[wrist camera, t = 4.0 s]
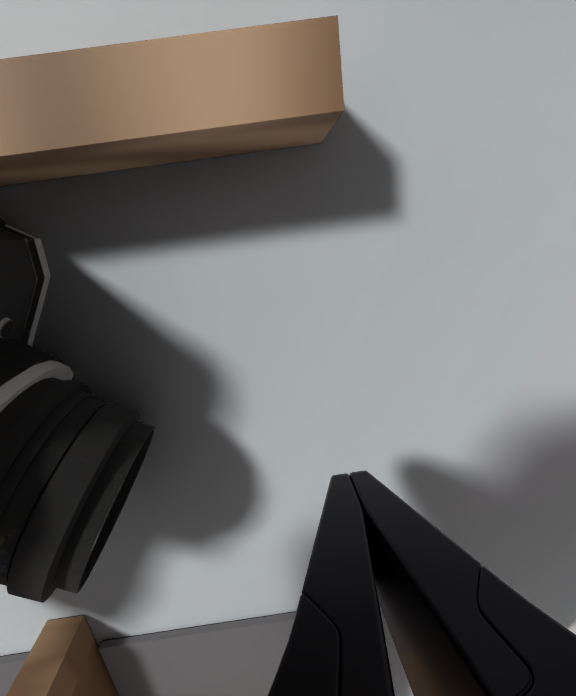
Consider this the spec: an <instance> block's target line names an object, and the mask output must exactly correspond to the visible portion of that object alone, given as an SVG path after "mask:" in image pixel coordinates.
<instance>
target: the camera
mask: <svg viewBox="0 0 576 696" xmlns="http://www.w3.org/2000/svg"><path fill="white" fill-rule="evenodd" d="M50 277H51V275H50V271H49V267H48V264H47V260H46V257H45V253H44V249H43V246H42V242H41V239H39V238H37V237H35V236H32V235H30V234H28V233H25V232H23V231H20V230H18V229H16V228H13V227H11V226H9V225H6V220H4V219H1V218H0V584H2V585H6V586H7V591H8V593H9V594H11V595H15V596H19V597H23V598H27V599H31V600H35V601H39V602H44V601H46V600H47V599H48V598H49V597H50V596H51V594H52V593H53V592H54V591H55V589H56V588H59V589H62V590H66V591H70V592H74V593H78V592H79V591H80V590H81V588H82V587H83V585H84V583H85V582H86V580H87V578H88V576H89V575H90V573H91V571H92V569H93V567H94V565H95V563H96V561H97V559H98V557H99V555H100V554H101V552H102V550H103V548H104V545H105V543H106V541H107V539H108V537H109V535H110V533H111V531H112V529H113V527H114V525H115V523H116V521H117V518H118V516H119V514H120V512H121V510H122V508H123V506H124V503H125V501H126V499H127V497H128V495H129V492H130V490H131V488H132V486H133V483H134V481H135V479H136V476H137V474H138V472H139V469H140V467H141V465H142V462H143V460H144V457H145V455H146V452H147V450H148V447H149V445H150V442H151V439H152V436H153V433H154V427H152V426H149V425H146V424H144V423H141V422H138V419H139V410H138V409H136V408H133V407H130V406H127V405H124V404H122V403H119V402H116V401H113V400H112V401H110V402H108V403H105V402H102V401H99V400H98V399H97V398H96V396H95V395H92V394H91V390H90V389H89V387H88V386H86V385H83V384H81V383H78V382H75V381H72V377H73V372H72V371H71V369H70V367H68V366H66V365H64V364H63V362H62V361H61V360H59V359H57V358H55V357H53V356H51V355H49V354H47V353H45V352H43V351H41V350H39V349H37V348H34V347H32V344H33V341H34V337H35V333H36V329H37V326H38V322H39V318H40V315H41V311H42V307H43V303H44V300H45V296H46V292H47V289H48V285H49V281H50Z"/></svg>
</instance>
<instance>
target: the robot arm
mask: <svg viewBox="0 0 576 696" xmlns="http://www.w3.org/2000/svg"><path fill="white" fill-rule="evenodd" d="M379 603H380V606H381V608H382V611H383V614H384V616H385V619H386V622H387V625H388V627H389V630H390V633H391V635H392V638H393V641H394V644H395V646H396V649H397V652H398V654H399V657H400V660H401V662H402V665H403V668H404V671H405V673H406V676H407V679H408V681H409V684H410V687H411V689H412V692H413V695H414V696H576V635H575V634H574V633H572V632H571V631H569V630H568V629H566V628H565V627H564V626H562V625H561V624H559V623H558V622H556V621H555V620H554V619H552V618H551V617H549V616H548V615H547V614H545V613H544V612H542V611H541V610H540V609H538V608H537V607H535V606H534V605H533V604H531V603H530V602H528V601H527V600H526V599H525V598H523V597H522V596H521V595H519V594H518V593H517V592H516V591H514V590H513V589H512V588H510V587H509V586H508V585H507V584H505V583H504V582H503V581H501V580H500V579H499V578H498V577H497V576H495V575H494V574H493V573H492V572H490V571H489V570H488V569H487V568H485V567H484V566H482V567H481V564H480V563H479V562H478V561H477V560H475V559H474V558H473V557H472V556H470V555H469V554H468V553H467V552H466V551H464V550H463V549H462V548H461V547H459V546H458V545H457V544H456V543H454V542H453V541H452V540H451V539H450V538H448V537H447V536H446V535H445V534H443V533H442V532H441V531H440V530H438V529H437V528H436V527H435V526H434V525H432V524H431V523H430V522H429V521H427V520H426V519H425V518H424V517H423V516H421V515H420V514H419V513H418V512H416V511H415V510H414V509H413V508H411V507H410V506H409V505H408V504H407V503H405V502H404V501H403V500H402V499H400V498H399V497H398V496H397V495H395V494H394V493H393V492H392V491H391V490H389V489H388V488H387V487H386V486H384V485H383V484H382V483H381V482H380V481H378V480H377V479H376V478H375V477H373V476H372V475H371V474H370V473H368V472H367V471H358V472H352V473H350V475H348V474H346V473H345V474H339V475H333V476H332V477H331V480H330V484H329V488H328V491H327V495H326V499H325V503H324V507H323V511H322V515H321V519H320V523H319V527H318V531H317V534H316V538H315V542H314V546H313V550H312V554H311V558H310V562H309V566H308V570H307V573H306V577H305V581H304V585H303V589H302V595H301V596H300V600H299V604H298V608H297V612H296V615H295V619H294V622H293V625H292V629H291V632H290V636H289V639H288V642H287V645H286V648H285V650H284V653H283V656H282V659H281V662H280V664H279V667H278V670H277V673H276V675H275V678H274V680H273V683H272V685H271V688H270V690H269V693H268V695H267V696H395V694H394V688H393V682H392V676H391V670H390V665H389V659H388V653H387V647H386V641H385V635H384V629H383V624H382V618H381V612H380V606H379Z"/></svg>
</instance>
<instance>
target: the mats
mask: <svg viewBox="0 0 576 696" xmlns="http://www.w3.org/2000/svg"><path fill="white" fill-rule="evenodd" d="M295 615H296V612H292V613H285V614H278V615H272V616H265V617H259V618H252V619H245V620H239V621H232V622H226V623H219V624H212V625H206V626H199V627H192V628H186V629H179V630H173V631H166V632H159V633H153V634H146V635H140V636H133V637H126V638H120V639H113V640H106V641H101V644H100V647H99V651H100V653H101V656H102V658H103V660H104V662H105V665H106V667H107V669H108V671H109V673H110V676H111V678H112V680H113V682H114V685H115V687H116V689H117V691H118V694H119V696H267V695H268V693H269V690H270V688H271V685H272V683H273V680H274V678H275V675H276V673H277V670H278V667H279V664H280V662H281V659H282V656H283V653H284V650H285V648H286V645H287V642H288V639H289V636H290V632H291V629H292V625H293V622H294V619H295ZM29 653H30V652H27V653H21V654H14V655H7V656H1V657H0V696H6V695H7V693H8V691H9V689H10V688H11V686H12V684H13V682H14V680H15V679H16V677H17V675H18V673H19V671H20V669H21V668H22V666H23V664H24V662H25V660H26V659H27V657H28V655H29Z"/></svg>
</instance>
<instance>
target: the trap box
mask: <svg viewBox="0 0 576 696" xmlns="http://www.w3.org/2000/svg"><path fill="white" fill-rule="evenodd" d="M343 111H344V101H343V86H342V72H341V57H340V42H339V28H338V15H337V16H329V17H322V18H314V19H306V20H299V21H291V22H283V23H275V24H268V25H260V26H252V27H245V28H237V29H229V30H222V31H214V32H206V33H199V34H191V35H183V36H175V37H168V38H160V39H152V40H145V41H137V42H129V43H122V44H114V45H106V46H99V47H91V48H83V49H75V50H68V51H60V52H52V53H45V54H37V55H29V56H22V57H14V58H6V59H0V186H3V185H11V184H18V183H26V182H33V181H41V180H48V179H56V178H63V177H70V176H78V175H85V174H93V173H100V172H108V171H115V170H122V169H130V168H137V167H145V166H152V165H160V164H167V163H174V162H182V161H189V160H197V159H204V158H212V157H219V156H227V155H234V154H241V153H249V152H256V151H264V150H271V149H279V148H286V147H293V146H301V145H308V144H316V143H322V142H323V140H324V139H325V137H326V136H327V134H328V133H329V132H330V130H331V129H332V127H333V126H334V124H335V123H336V121H337V120H338V119H339V117H340V116H341V114H342V113H343ZM6 696H119V694H118V691H117V689H116V687H115V685H114V682H113V680H112V678H111V676H110V673H109V671H108V669H107V667H106V665H105V662H104V660H103V658H102V656H101V653H100V651H99V648H98V646H97V644H96V642H95V639H94V637H93V635H92V633H91V630H90V628H89V626H88V624H87V621H86V619H85V617H84V615H81V616H75V617H68V618H61V619H55V620H48V621H47V622H46V624H45V626H44V628H43V629H42V631H41V633H40V635H39V637H38V639H37V640H36V642H35V644H34V646H33V648H32V649H31V651H30V653H29V655H28V657H27V659H26V660H25V662H24V664H23V666H22V668H21V669H20V671H19V673H18V675H17V677H16V679H15V680H14V682H13V684H12V686H11V688H10V689H9V691H8V693H7V695H6Z"/></svg>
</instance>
